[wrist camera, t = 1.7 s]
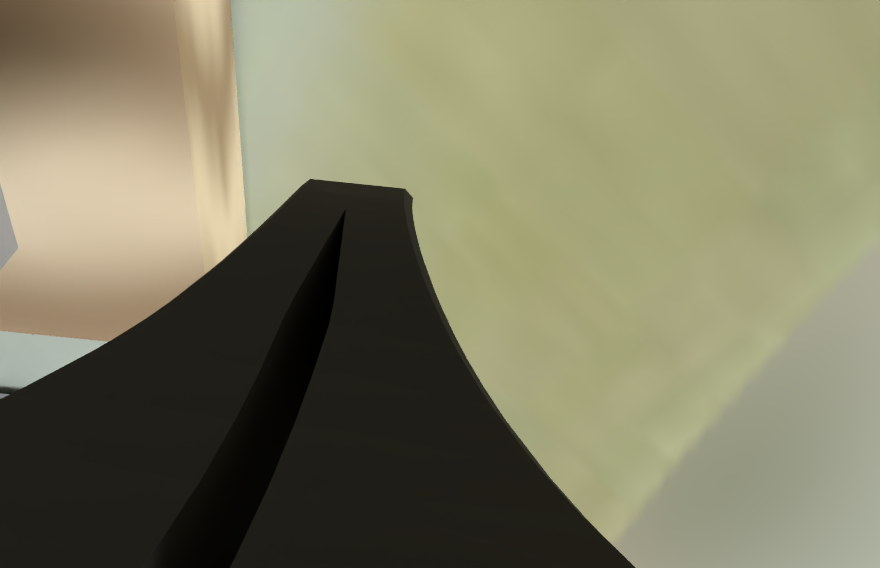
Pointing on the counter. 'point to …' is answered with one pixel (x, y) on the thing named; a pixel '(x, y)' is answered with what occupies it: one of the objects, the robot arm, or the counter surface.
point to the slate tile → (6, 233)
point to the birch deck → (115, 158)
